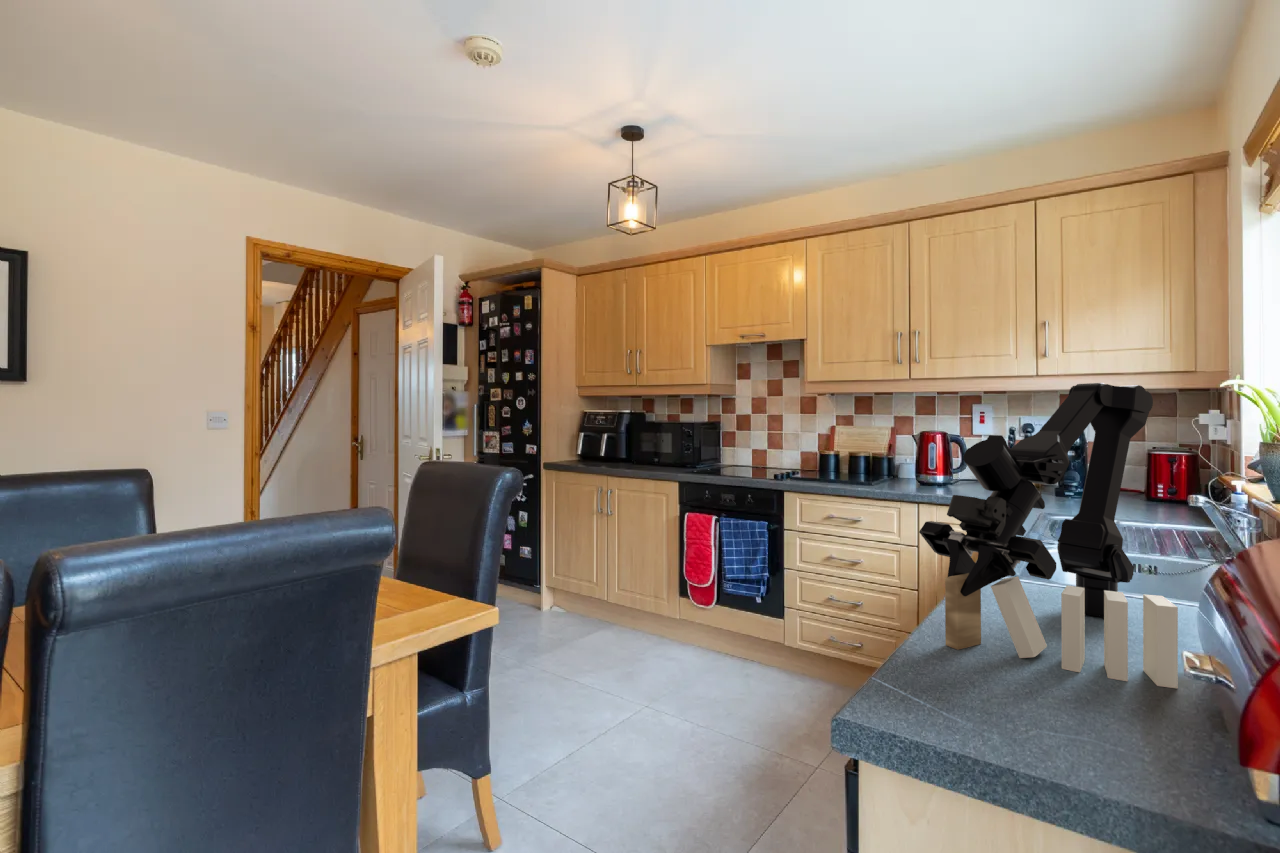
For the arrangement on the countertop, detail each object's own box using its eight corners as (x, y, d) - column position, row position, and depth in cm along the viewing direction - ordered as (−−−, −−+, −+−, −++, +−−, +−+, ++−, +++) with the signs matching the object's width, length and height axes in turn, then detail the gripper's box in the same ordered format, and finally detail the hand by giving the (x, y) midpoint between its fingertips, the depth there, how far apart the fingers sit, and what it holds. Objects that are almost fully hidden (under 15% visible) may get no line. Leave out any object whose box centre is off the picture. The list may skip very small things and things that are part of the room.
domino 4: (1107, 678, 79) (1107, 600, 79) (1104, 664, 83) (1104, 590, 83) (1127, 681, 78) (1127, 602, 78) (1122, 667, 82) (1122, 592, 82)
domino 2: (1019, 658, 86) (990, 586, 88) (1032, 647, 89) (1004, 578, 91) (1034, 657, 84) (1004, 584, 86) (1047, 646, 87) (1018, 576, 90)
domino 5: (1157, 685, 76) (1157, 605, 76) (1143, 670, 81) (1143, 594, 81) (1177, 688, 76) (1177, 607, 75) (1162, 672, 80) (1162, 595, 80)
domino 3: (1061, 668, 82) (1061, 593, 82) (1067, 657, 86) (1066, 585, 86) (1080, 672, 81) (1079, 596, 80) (1084, 660, 84) (1084, 587, 84)
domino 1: (945, 645, 91) (945, 577, 91) (968, 639, 93) (968, 573, 93) (957, 649, 89) (957, 580, 89) (981, 643, 91) (980, 576, 91)
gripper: (927, 471, 101) (876, 545, 96) (1043, 481, 84) (989, 571, 79) (960, 516, 104) (913, 589, 100) (1078, 534, 87) (1028, 624, 83)
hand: (955, 592), depth 90 cm, fingers closed on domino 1, 2 cm apart
